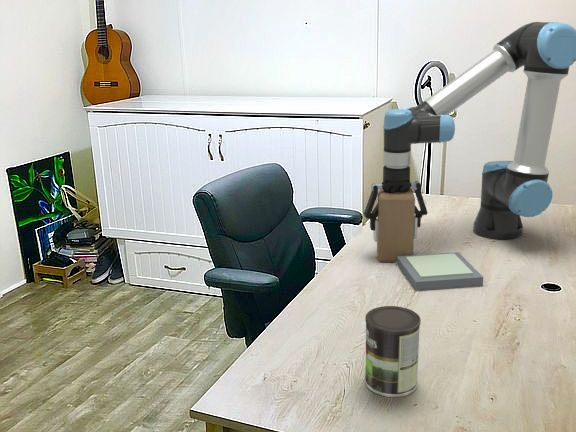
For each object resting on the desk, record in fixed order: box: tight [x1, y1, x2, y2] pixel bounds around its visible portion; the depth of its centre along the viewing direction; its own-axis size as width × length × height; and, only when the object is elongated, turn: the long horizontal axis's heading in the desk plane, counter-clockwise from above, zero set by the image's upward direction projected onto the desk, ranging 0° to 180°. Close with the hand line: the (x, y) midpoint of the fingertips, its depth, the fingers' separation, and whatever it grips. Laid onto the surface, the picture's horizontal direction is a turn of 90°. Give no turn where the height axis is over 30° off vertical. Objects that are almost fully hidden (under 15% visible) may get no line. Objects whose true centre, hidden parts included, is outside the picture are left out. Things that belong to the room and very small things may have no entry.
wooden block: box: [376, 187, 416, 263], centre depth 182 cm, size 10×10×20 cm
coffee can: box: [364, 305, 422, 398], centre depth 121 cm, size 10×10×14 cm
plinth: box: [396, 251, 484, 292], centre depth 171 cm, size 18×18×3 cm
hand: (394, 239), depth 184 cm, fingers closed on wooden block, 11 cm apart
